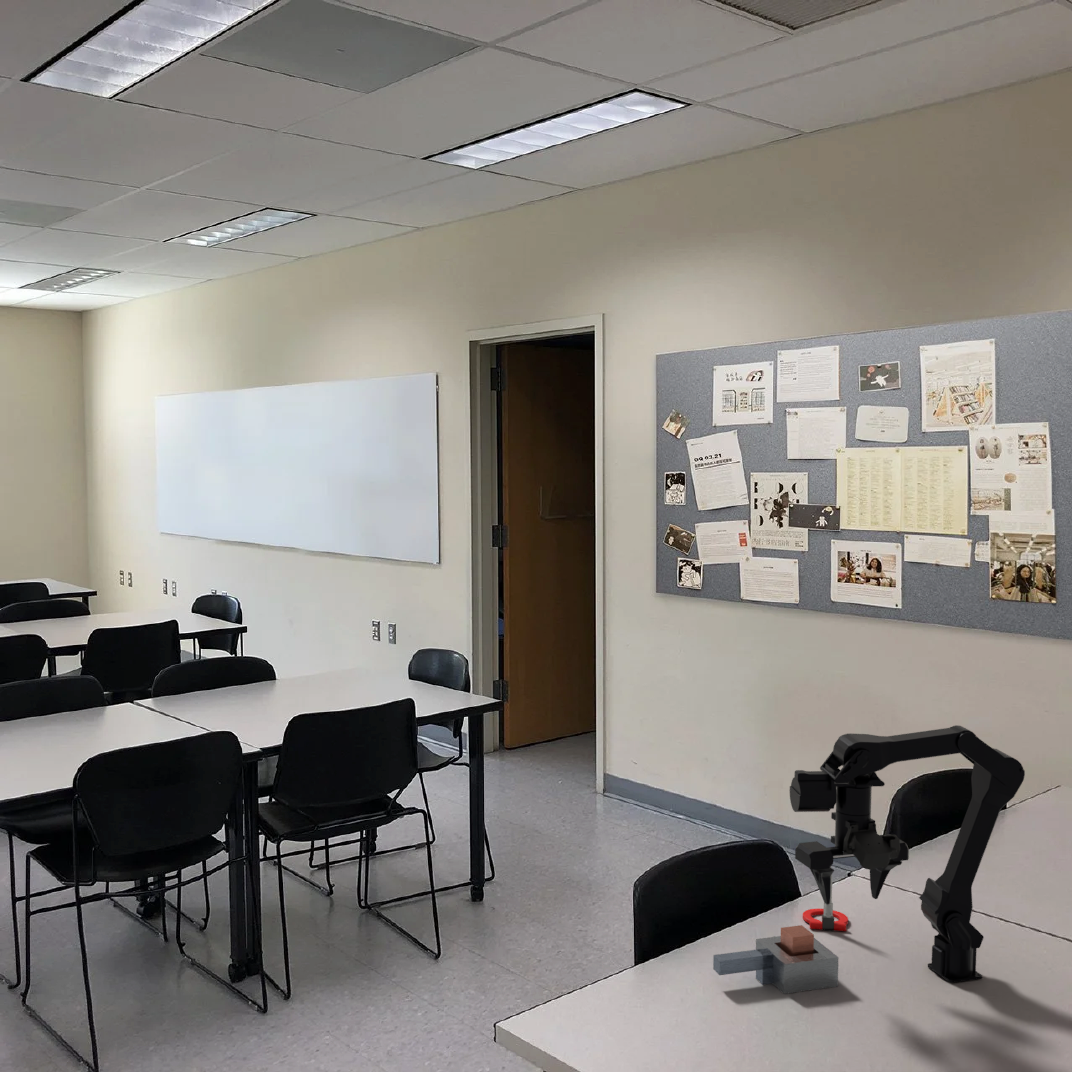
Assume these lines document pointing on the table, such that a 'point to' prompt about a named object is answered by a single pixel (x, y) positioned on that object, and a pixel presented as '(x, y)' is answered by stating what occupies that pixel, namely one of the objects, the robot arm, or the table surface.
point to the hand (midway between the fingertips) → (850, 900)
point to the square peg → (797, 941)
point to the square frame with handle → (782, 966)
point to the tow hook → (826, 917)
